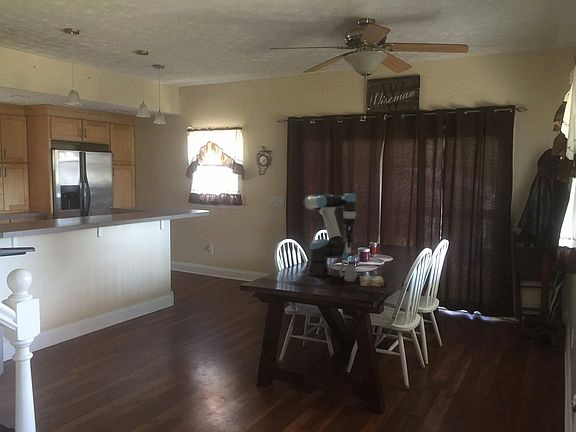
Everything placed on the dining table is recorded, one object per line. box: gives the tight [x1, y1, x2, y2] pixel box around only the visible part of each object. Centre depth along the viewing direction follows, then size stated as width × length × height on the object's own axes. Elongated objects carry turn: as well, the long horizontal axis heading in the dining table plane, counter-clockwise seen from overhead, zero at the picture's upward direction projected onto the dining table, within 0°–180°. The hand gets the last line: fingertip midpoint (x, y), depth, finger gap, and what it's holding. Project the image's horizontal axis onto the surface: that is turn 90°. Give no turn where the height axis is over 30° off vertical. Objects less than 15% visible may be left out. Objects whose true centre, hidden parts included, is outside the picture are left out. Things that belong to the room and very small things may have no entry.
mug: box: [338, 260, 357, 282], centre depth 309 cm, size 8×12×12 cm, turn 53°
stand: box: [359, 275, 385, 288], centre depth 301 cm, size 14×14×3 cm
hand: (348, 250), depth 307 cm, fingers open, 13 cm apart
